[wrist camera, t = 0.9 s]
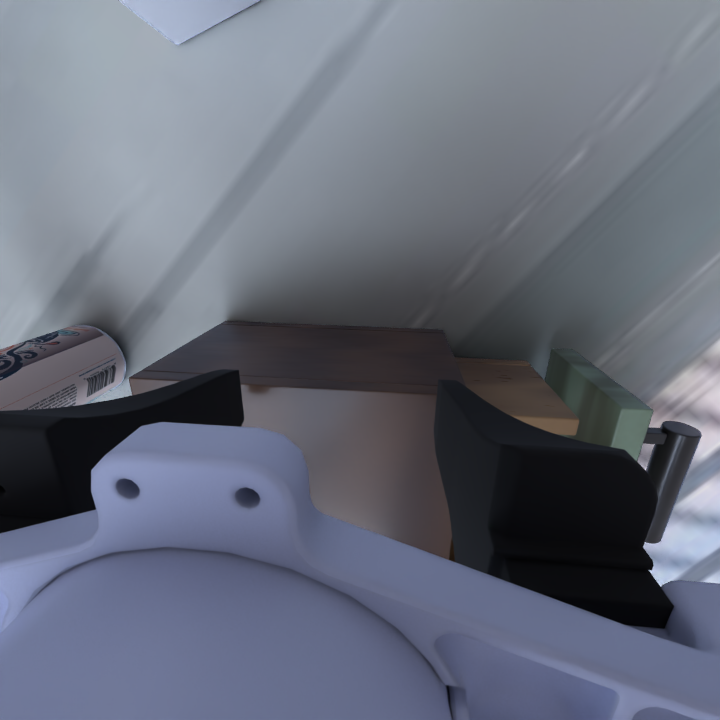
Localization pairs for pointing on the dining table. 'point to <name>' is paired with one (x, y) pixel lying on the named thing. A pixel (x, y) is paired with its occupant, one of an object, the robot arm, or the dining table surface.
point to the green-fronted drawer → (587, 416)
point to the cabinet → (341, 413)
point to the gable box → (185, 15)
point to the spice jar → (60, 369)
